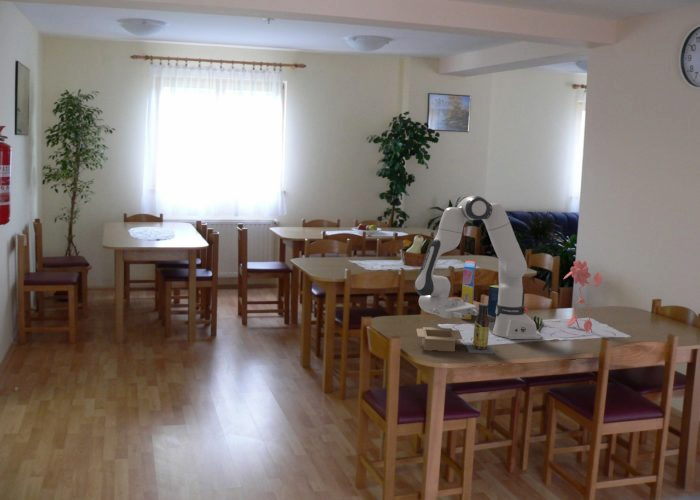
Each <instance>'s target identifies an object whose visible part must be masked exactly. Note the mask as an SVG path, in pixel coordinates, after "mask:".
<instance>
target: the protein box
mask: <svg viewBox="0 0 700 500" xmlns="http://www.w3.org/2000/svg"><path fill="white" fill-rule="evenodd" d="M488 289H489V290H488V299H487V300H488V303H487V304H488V309H487V316H491V317H494V318H496V307H497V303H498V292H499V283H498V284H493V285H489V288H488ZM525 289H526V288H523V293H522V306H524V304H525V294H526V293H525V292H526V291H525ZM524 307H525V306H524Z"/></svg>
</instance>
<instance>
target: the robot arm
mask: <svg viewBox="0 0 700 500" xmlns="http://www.w3.org/2000/svg"><path fill="white" fill-rule="evenodd" d="M479 220H481V221H482V222H483V224H484V226H485V229H486V231H487V233H488V236H489V239H490V242H491V245H492V247H493V249H494V252H495V254H496V256H497V259H498V284H499V292H498V303H497V307H496V317H495V322H494V326H493V329H492V331H491V332H492V334H493V335H495V336H497V337H501V338H505V339H509V340H540V339H541V338H542V334H541V333H540V331H538V329H537V324H536V322H535V320H533V319H532V318H531V317H530V316H529V315H527V313H528V312H529V309H528V307H525V306H522V293H523V289H524V287H523V277H524V275H525V274H526V273H527V269H528V264H527V261H526V259H525V256H524V254H523V252H522V249H521V247H520V244H519V242H518V240H517V237H516V235H515V232H514V229H513V227H512V224H511V221H510V219H509V217H508V214H507V212H506V211H505V209H504V207H503V206H502V204H500V203H498V202H488V201H487V199H485V198H484V197H482V196H479V195H478V196H477V195H467V196H464V197H463V198H461V199H460V200H459V201H458V202H457V204H456V205H455V206H450V207H447V208H445V209H444V211H443V213H442V216H441V218H440V221H439V225H438V230H437V232H436V235H435V237H434V239H433V240H431V242H430V243H429V245H428V247H427V250H426V253H425V256H424V258H423V261H422V264H421V267H420V270H419V272H418V274H417V276H416V278H415V280H414V289H415V291H416V293H417V294H418V295H419V298H418V305H419V307H420V309H421V310H422V311H424V312H425V313H428V314H432V315H437V316H438V317H440V318H442V319H445V320H447V319H448V320H449V319H453V318H460V319H461V318H464V316H466V315H472V316H477V315H478V312H479V310H478V309H477V308H478V307H477V305H475V304H474V303H473V304H470V303H467V302H463V300H462V299H453V298H450V293H451V290H452V284H451V281H450V280H449V278H448V277H447V276H443V275H435V274H434V271H435V269H436V266H437V263H438V259H439V258H440V257H441V256H442V255H443V254H445V253H447V252H451V251H453V250H455V249H456V248H457V247H458V246H459V244H460V243H461V239H462V234H463V229H464V227H465V224H466V222H467V221H479Z"/></svg>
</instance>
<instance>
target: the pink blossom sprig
mask: <svg viewBox="0 0 700 500" xmlns="http://www.w3.org/2000/svg"><path fill="white" fill-rule="evenodd" d="M570 276H571V277H572V278H573V281H574V284H578V283H579V284H580V285H581V286H579V289H578V290H579V293H580V298H579V299H578V301H576V302H575V303H574V314H575V315H574V316H572V317H571V318H570V319H568V320H569V321H567V325H566V327H567V328H568V327H570V326H572V325H574V323H576V325H577V327H578V328H579V327H580V326H579V321H578V320H577V319H578V315H576V310H577V307H576V306H577V304H578V303H579V304H582V305H583V304H585V305H586V306H587V307H589V308H591V310H590V313H589V317H588V319H587V320H585V322H584V323H583V329H584V331H585V333H589V331H591V333H592V332H593V329H592V327H593V324H592V320H590V318H591V315H592V311H593V307H592V306H590V305H589V304H587V303H586V300H585V298H583V297H582V291H581V288H584V286H587V285H591V286H593V287H595V288H596V287H599V286H600V285H601V283H602V282H603V276H602V274H601V273H599V272H597V273H595V274H594V277H593V282H594V284H593V283H590V282H589V281H588V279H589V278H591V273H590V272H589V267H588V265H587V262H586V260H583V261H581V260H579V259H577V260H575V261H573V266H571V267H570V271H569V272H568V273H567V274H566V275H565V276H564V278H563V280H565V279H567V278H569V277H570ZM558 330H559V331H562V332H563V333H567V334H568V332H566V331H564V330H562V329H560V328H558ZM569 334H570V335H575V336H577V334H576V333H569ZM581 336H584V337H585V336H586V335H583V334H582V335H581Z"/></svg>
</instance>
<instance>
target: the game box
mask: <svg viewBox="0 0 700 500" xmlns="http://www.w3.org/2000/svg"><path fill="white" fill-rule="evenodd" d="M476 264H477V261H474V260H465V262H464V265H463V270H462V271H463V272H462V273H463V274H462V287H461V300H463V302H467V303H470V304H473V305H474V299H475V298H474V296H475V285H476V284H475V281H476V266H477V265H476ZM472 316H473V314H472V315H466V316H464V318H460V319H461V320H472Z"/></svg>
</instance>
